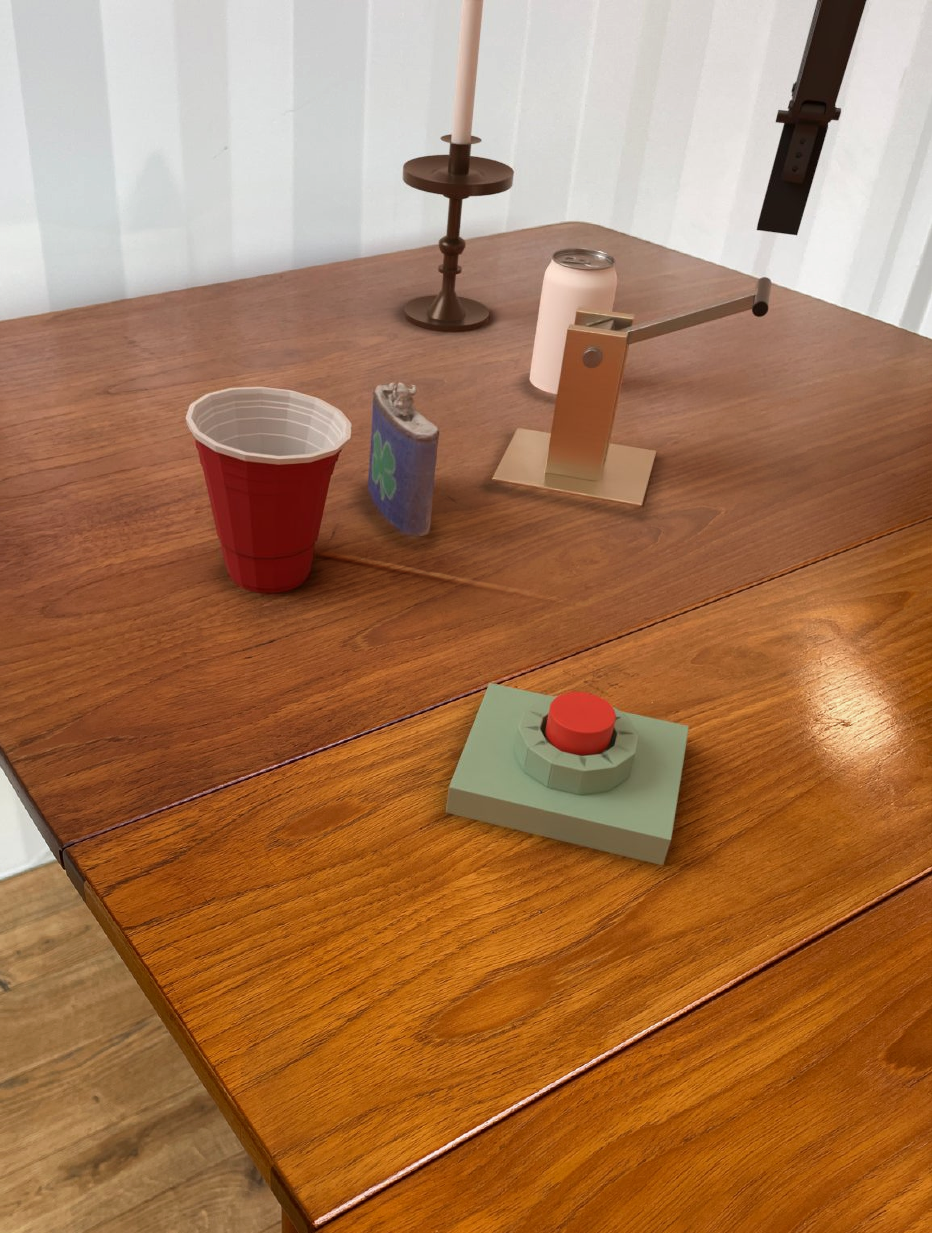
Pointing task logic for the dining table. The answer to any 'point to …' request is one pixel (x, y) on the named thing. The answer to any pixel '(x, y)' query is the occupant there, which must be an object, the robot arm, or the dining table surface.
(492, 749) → the button block
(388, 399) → the flask
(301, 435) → the plastic cup
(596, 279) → the can
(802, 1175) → the dining table surface
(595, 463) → the bracket
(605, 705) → the button
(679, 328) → the lever
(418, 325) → the candlestick
